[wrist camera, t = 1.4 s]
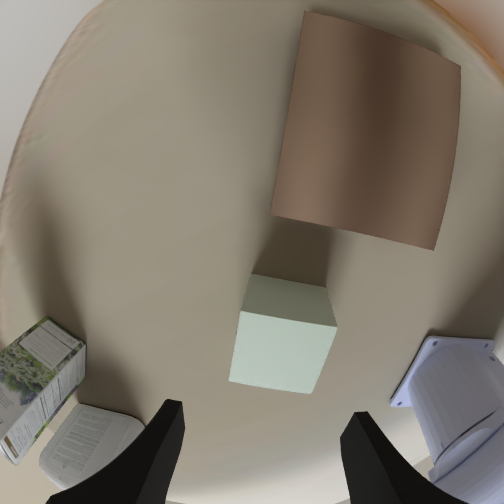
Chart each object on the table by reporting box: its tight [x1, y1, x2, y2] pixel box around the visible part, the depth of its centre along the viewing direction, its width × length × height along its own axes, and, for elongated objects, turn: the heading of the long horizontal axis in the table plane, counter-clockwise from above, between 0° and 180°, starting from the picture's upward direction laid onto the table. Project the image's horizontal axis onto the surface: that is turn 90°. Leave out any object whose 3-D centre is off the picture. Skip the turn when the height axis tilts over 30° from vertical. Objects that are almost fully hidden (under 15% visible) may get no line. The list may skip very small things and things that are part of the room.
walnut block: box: [270, 11, 461, 251], centre depth 14 cm, size 10×12×3 cm
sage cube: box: [229, 274, 338, 394], centre depth 17 cm, size 5×5×5 cm
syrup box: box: [0, 317, 86, 466], centre depth 16 cm, size 6×6×14 cm
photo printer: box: [39, 404, 145, 490], centre depth 20 cm, size 10×4×12 cm, turn 98°
